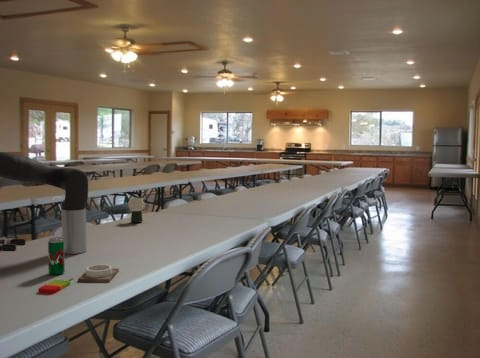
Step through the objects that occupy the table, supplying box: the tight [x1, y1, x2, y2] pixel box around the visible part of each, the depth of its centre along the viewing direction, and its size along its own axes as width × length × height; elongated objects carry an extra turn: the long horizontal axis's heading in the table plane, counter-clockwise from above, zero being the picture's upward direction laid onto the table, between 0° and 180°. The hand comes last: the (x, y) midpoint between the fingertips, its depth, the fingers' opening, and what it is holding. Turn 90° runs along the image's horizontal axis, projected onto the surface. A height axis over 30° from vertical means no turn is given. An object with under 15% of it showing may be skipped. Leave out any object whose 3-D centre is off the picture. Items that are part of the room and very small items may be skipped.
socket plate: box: [77, 263, 119, 283], centre depth 154 cm, size 12×10×3 cm
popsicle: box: [37, 276, 74, 295], centre depth 144 cm, size 6×15×2 cm, turn 169°
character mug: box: [127, 197, 146, 223], centre depth 250 cm, size 11×7×13 cm, turn 66°
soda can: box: [47, 236, 66, 276], centre depth 157 cm, size 5×5×12 cm
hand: (20, 244), depth 155 cm, fingers open, 8 cm apart
